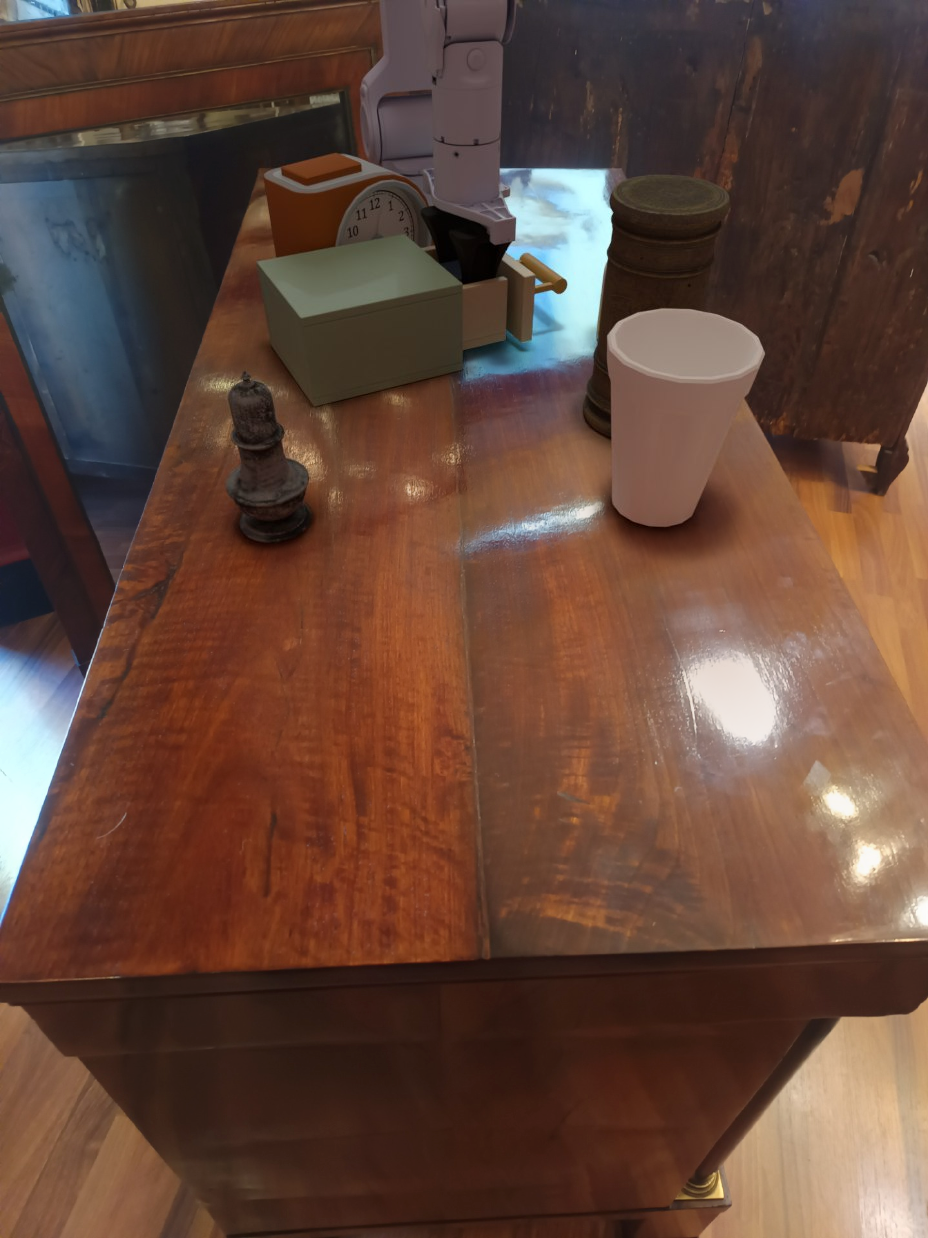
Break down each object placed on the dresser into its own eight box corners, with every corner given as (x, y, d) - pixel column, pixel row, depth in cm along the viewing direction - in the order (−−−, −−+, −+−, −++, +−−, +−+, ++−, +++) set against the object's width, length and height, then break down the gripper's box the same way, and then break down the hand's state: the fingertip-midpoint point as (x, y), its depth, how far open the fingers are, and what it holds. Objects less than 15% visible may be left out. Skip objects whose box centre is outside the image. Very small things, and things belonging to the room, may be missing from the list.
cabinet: (408, 314, 84) (404, 233, 78) (463, 369, 76) (463, 283, 71) (271, 345, 80) (255, 261, 74) (313, 407, 72) (300, 317, 66)
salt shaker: (274, 556, 58) (241, 405, 49) (218, 524, 60) (177, 375, 52) (332, 514, 61) (310, 366, 53) (277, 486, 64) (247, 340, 55)
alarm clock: (323, 335, 81) (304, 187, 71) (276, 306, 86) (252, 164, 76) (437, 292, 88) (434, 152, 78) (389, 267, 92) (380, 132, 83)
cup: (740, 540, 59) (792, 374, 50) (605, 554, 58) (632, 386, 49) (693, 461, 66) (731, 302, 57) (572, 472, 65) (590, 312, 56)
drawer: (519, 285, 87) (522, 223, 83) (576, 329, 80) (582, 264, 75) (356, 320, 81) (350, 256, 77) (402, 372, 74) (398, 304, 70)
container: (686, 450, 67) (739, 219, 54) (577, 438, 68) (602, 209, 55) (688, 394, 73) (735, 174, 60) (587, 384, 74) (612, 167, 62)
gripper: (552, 153, 66) (540, 317, 75) (470, 108, 75) (469, 259, 84) (473, 166, 63) (472, 333, 73) (399, 118, 72) (406, 272, 82)
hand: (466, 294), depth 79 cm, fingers closed on block, 4 cm apart
